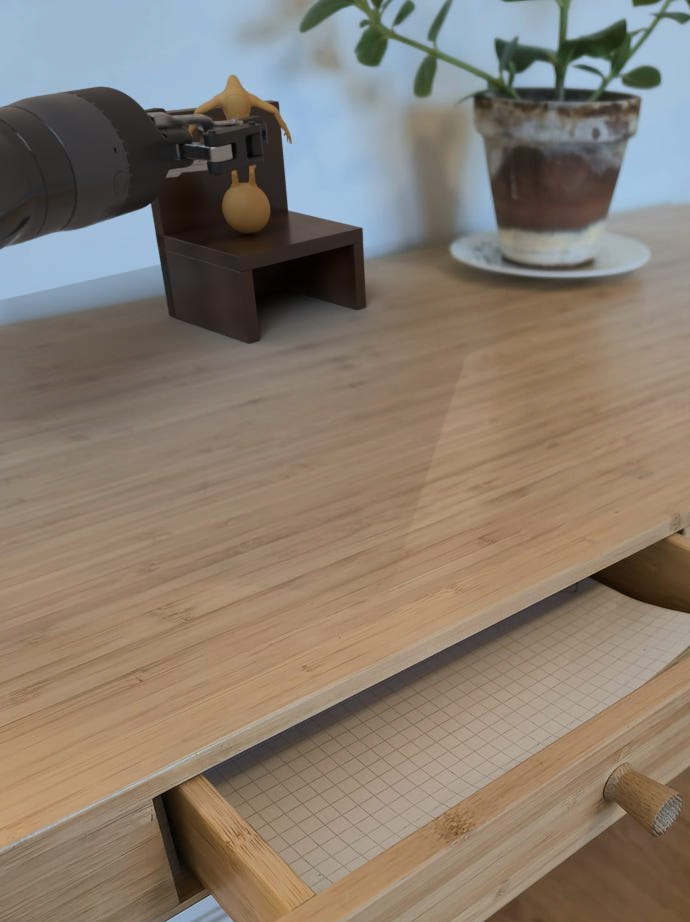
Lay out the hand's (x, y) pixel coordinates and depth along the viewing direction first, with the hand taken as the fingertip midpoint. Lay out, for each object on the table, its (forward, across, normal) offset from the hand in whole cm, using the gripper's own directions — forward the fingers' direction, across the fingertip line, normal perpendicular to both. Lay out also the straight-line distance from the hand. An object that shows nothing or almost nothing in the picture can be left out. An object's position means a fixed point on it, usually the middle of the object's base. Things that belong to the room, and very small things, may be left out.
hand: (211, 127), depth 73 cm
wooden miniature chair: (+6, 0, +16) cm, 17 cm away
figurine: (+4, 0, +9) cm, 10 cm away
